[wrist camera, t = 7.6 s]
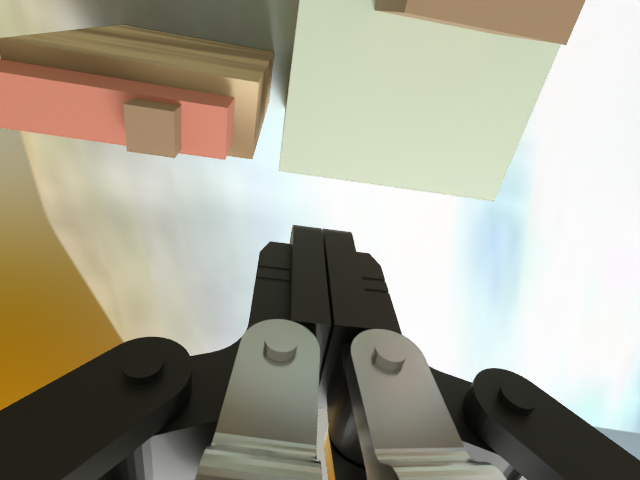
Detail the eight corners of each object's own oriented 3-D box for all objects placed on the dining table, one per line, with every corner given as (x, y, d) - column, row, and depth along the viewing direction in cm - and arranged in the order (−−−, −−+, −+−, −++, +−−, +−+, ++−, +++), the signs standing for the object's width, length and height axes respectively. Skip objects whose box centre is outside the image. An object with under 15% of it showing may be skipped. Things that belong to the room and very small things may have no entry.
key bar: (-31, 54, 18) (-98, 64, 15) (234, 97, 20) (223, 114, 17) (-18, 107, 19) (-78, 127, 16) (232, 144, 21) (220, 168, 18)
